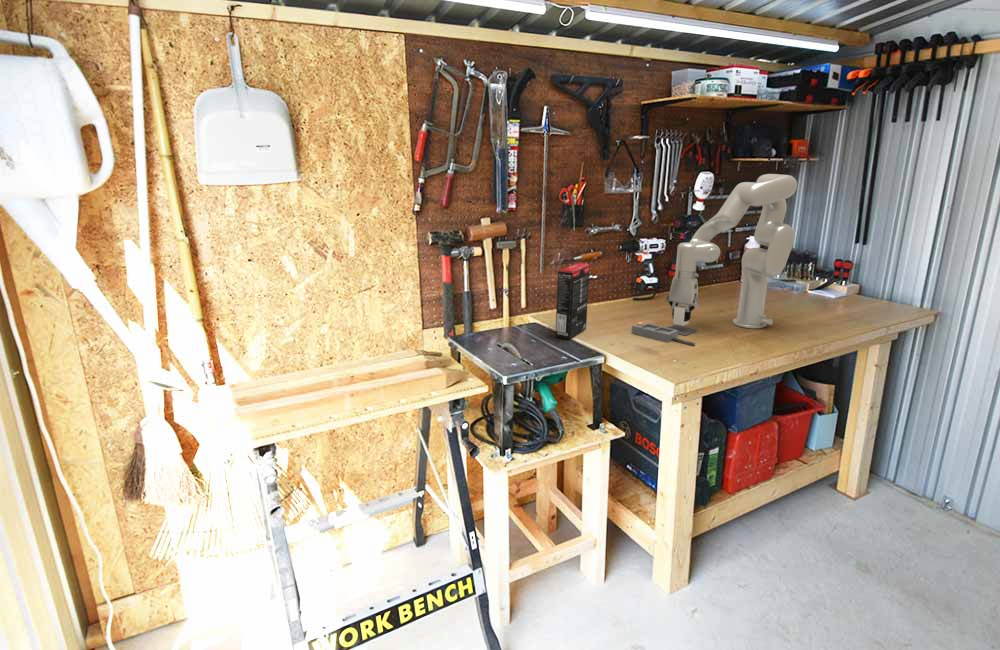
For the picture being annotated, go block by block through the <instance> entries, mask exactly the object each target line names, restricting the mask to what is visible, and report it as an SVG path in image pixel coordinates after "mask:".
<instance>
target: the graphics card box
mask: <svg viewBox="0 0 1000 650" xmlns="http://www.w3.org/2000/svg"><path fill="white" fill-rule="evenodd" d="M590 269H591V268H590V263H585V262H577V263H574V264H572V265H569V266H567V267H564V268H562V269H559V270H557V285H556V286H557V288H556V289H557V291H556V293H557V294H556V314H555V338H560V339H565V340H571V339H573V338H575V337H576V336H577V335H578V334H581V332H583V331H585V330H586V329H587V321H588V319H587V318H588V304H589V303H588V302H589V284H590V281H589V280H590Z"/></svg>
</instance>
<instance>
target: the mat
mask: <svg viewBox="0 0 1000 650" xmlns="http://www.w3.org/2000/svg"><path fill="white" fill-rule="evenodd" d="M667 328H670V329H674V330H678V336H679V335H680V336H683V337H687V336H689V335H691V334H693V332H694V333H696V332H698V331H699V329H698V328H693V327H689V326H686V325H684V326H682V325H677V324H673V325H670V326H669V327H667ZM697 330H698V331H697ZM695 331H696V332H695Z"/></svg>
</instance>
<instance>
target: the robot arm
mask: <svg viewBox="0 0 1000 650" xmlns="http://www.w3.org/2000/svg"><path fill="white" fill-rule="evenodd" d="M797 189H798V181H797V179H796V178H795V177H794V176H793V175H789V174H779V173H778V174H777V173H767V174H762V175H760V176H759V177H758V178H757V179H756V182H752V181H751V182H750V181H744V182H740V183H738V184H737V185H736V186H735V187H734V189H732V191H731V192H730V194H729V196H728V197H727V199H726V200H725V202H724V203H723V204H722V206H721V207H720V208H719V210H718V212H717V213H716V214H715V215H713V216H712V217H711V218H710V219H708V220H707V221H706V222H704V223H703V224H702V225H701V226H700V227H699V228H698V229H697V230H696V231H695V233H694V235H693V236H692V237H691V239H690V240H689V242H680V243H679V244H678V245H677V252H676V261H675V262H676V263H675V272H674V273H675V274H674V276H673V278H672V281H671V285H670V288H669V289H670V290H669V294H668V296H666V298H665V300H666V301H667V303H668V304H669V306H670V307H671V309H672V311H671V312H672V313H671V314H672V316H671V317H672V319H673V318H674V307H675V306H678V305H680V304H681V305H685V306H686V312H685V317H684V321H685V322H686V321H689V322H690V320H691V314H692V311H694V310H695V309H696V308H699V307H700V306H701V304H700V302H699V300H698V299H699V284H698V283H699V282H698V279H697V278H699V273H697V263H698V262H700V263H701V262H702V263H713V262H715V261H717V260H718V259H719V258H720V255H721V249H720V247H719V246H718V245H716V243H713V242H711V240H713V238H714V237H716V236H717V235H719V234H720V233H722V232H725V231H727V230H731V229H732V228H735V227H736V226H737V225H738V224H739V223H740V221H741V220H742V218H743V217H744V216H745V214H746V213H747V211H748V210H749V208H750V206H752V207H762V210H761V213H760V216H759V220H758V222H757V225H756V228H755V231H754V234H753V235H754V236H753V238H754V241H755V242H756V243H757V244H759V245H762V246H765V247H767V249H765V248H761V247H751V248H749V249H746V251H745V252H744V253H743V255H742V257H741V273H742V274H741V275H742V276H741V287H740V294H739V302H738V310H737V317H735V318H734V319H732V323H733V325H735V326H738V327H741V328H744V329H745V328H746V329H762V328H765V327H767V325H769V326H773V323H774V320H773V319H772V318H768V317H766V316H767V315H766V314H764V312H765V311H764V310H765V304H766V297H767V288H768V277H776V276H778V275H780V274H782V272H783V271H784V269H785V267H786V265H787V262H788V259H789V257H790V254H791V252H792V248H793V245H794V244H795V243H794V242H795V240H796V239H795V238H796V237H795V235H796V234H795V231H794V228H793V227H792V226H790V225H789V224H787V223H784V220H785V217H786V213H787V207H788V205H787V200H786V199H788V198H790V197H791V196H793V195H794V194H795V192H796V191H797Z"/></svg>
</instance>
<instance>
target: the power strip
mask: <svg viewBox="0 0 1000 650" xmlns="http://www.w3.org/2000/svg"><path fill="white" fill-rule="evenodd" d="M632 333H634V334H633V335H636V334H638V335H637V336H640V335H641V337H644V336H645V337H644V338H648V337H649V339H652V340H656V341H660V342H664V343H668V344H669V343H670V342H672V341H673V342H677V343H680V344H683V345H688V346H693V347H694V346H696V342H693V341H688V340H686V339H685V340H684V339H680V338H678V336H679V334H678V330H674V329H670V328H668V327H665V326H661V325H656V324H652V323H649V322H644V321H638V322H636V324H633V325H631V334H632Z"/></svg>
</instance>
